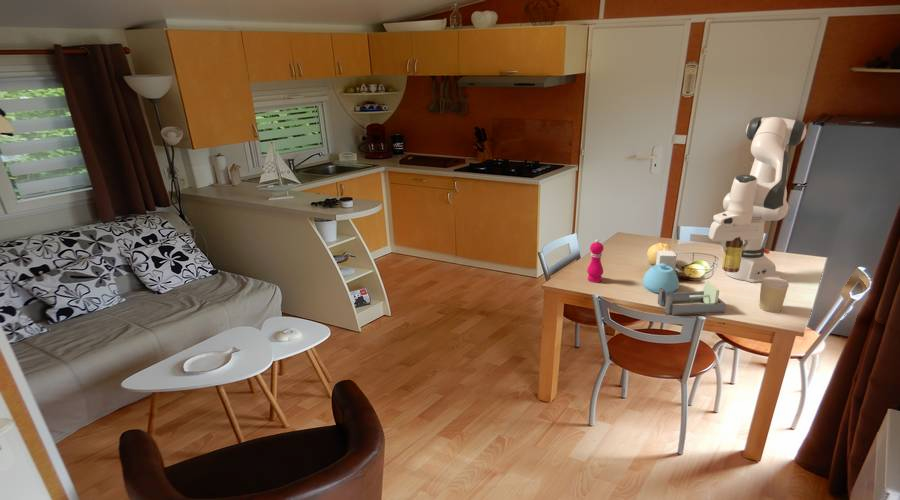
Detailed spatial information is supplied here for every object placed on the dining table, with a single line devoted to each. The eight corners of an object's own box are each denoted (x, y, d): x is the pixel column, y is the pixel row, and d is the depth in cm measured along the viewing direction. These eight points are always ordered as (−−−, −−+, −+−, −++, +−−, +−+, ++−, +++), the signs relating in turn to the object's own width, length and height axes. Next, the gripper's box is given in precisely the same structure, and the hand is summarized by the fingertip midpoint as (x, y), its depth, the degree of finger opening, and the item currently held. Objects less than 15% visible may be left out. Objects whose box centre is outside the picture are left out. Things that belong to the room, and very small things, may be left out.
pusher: (705, 300, 216) (708, 281, 213) (716, 310, 208) (719, 290, 205) (683, 301, 216) (686, 282, 213) (693, 311, 208) (696, 291, 205)
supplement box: (674, 281, 237) (677, 256, 232) (656, 281, 238) (659, 255, 234) (670, 275, 243) (673, 250, 239) (654, 274, 245) (657, 249, 241)
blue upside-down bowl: (676, 297, 221) (679, 272, 217) (639, 291, 228) (641, 267, 224) (680, 284, 234) (683, 260, 230) (645, 279, 241) (647, 256, 237)
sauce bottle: (742, 272, 206) (751, 224, 199) (729, 273, 205) (737, 226, 198) (730, 266, 212) (738, 220, 205) (717, 268, 211) (725, 221, 204)
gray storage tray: (708, 299, 218) (711, 284, 216) (724, 312, 207) (726, 297, 204) (656, 301, 218) (658, 286, 216) (668, 315, 206) (670, 299, 204)
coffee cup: (771, 302, 214) (777, 275, 210) (789, 312, 205) (794, 284, 201) (751, 304, 213) (756, 277, 208) (767, 314, 204) (773, 287, 200)
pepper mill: (589, 275, 247) (591, 236, 240) (604, 278, 243) (607, 238, 236) (584, 281, 241) (587, 240, 234) (600, 283, 237) (603, 243, 230)
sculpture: (674, 268, 251) (677, 247, 248) (649, 268, 253) (651, 247, 249) (668, 259, 262) (670, 239, 258) (643, 259, 264) (645, 239, 260)
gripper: (760, 214, 204) (754, 247, 208) (709, 215, 204) (704, 248, 208) (770, 218, 198) (764, 252, 202) (717, 220, 198) (712, 253, 202)
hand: (733, 250), depth 205 cm, fingers closed on sauce bottle, 6 cm apart
